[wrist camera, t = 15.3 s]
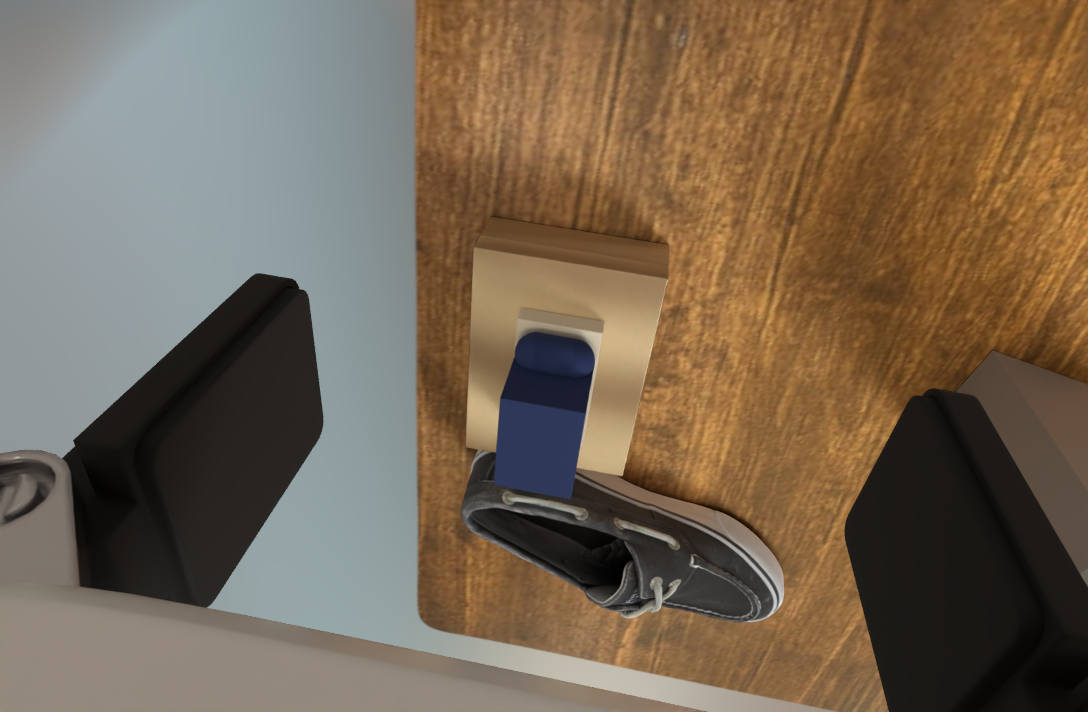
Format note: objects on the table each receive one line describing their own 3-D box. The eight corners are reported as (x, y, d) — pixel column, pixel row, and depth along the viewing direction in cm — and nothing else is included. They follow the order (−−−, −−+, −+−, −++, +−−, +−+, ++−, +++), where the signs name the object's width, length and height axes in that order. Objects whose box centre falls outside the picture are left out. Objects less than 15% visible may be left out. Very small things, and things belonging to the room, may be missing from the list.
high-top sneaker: (585, 433, 40) (573, 502, 36) (511, 420, 41) (490, 487, 36) (604, 321, 36) (594, 384, 31) (521, 307, 36) (498, 367, 32)
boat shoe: (805, 555, 49) (826, 661, 42) (726, 610, 54) (733, 713, 47) (518, 389, 45) (490, 478, 38) (459, 465, 49) (425, 555, 43)
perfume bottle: (1019, 469, 42) (1202, 783, 27) (918, 434, 41) (1049, 733, 27) (1103, 389, 38) (1371, 707, 23) (992, 350, 38) (1193, 646, 23)
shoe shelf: (490, 215, 38) (473, 246, 35) (669, 244, 37) (668, 278, 34) (480, 407, 46) (465, 447, 43) (626, 434, 45) (622, 476, 42)
